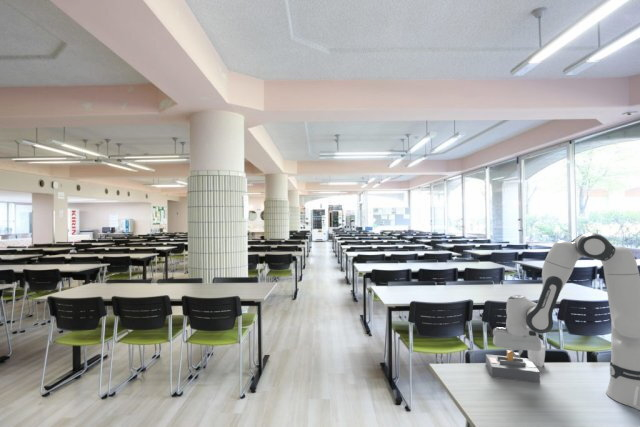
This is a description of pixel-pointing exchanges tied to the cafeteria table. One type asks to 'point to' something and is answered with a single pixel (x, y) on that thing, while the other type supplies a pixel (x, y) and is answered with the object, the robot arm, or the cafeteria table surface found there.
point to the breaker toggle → (509, 355)
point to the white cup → (537, 356)
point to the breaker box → (512, 368)
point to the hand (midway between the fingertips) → (516, 357)
